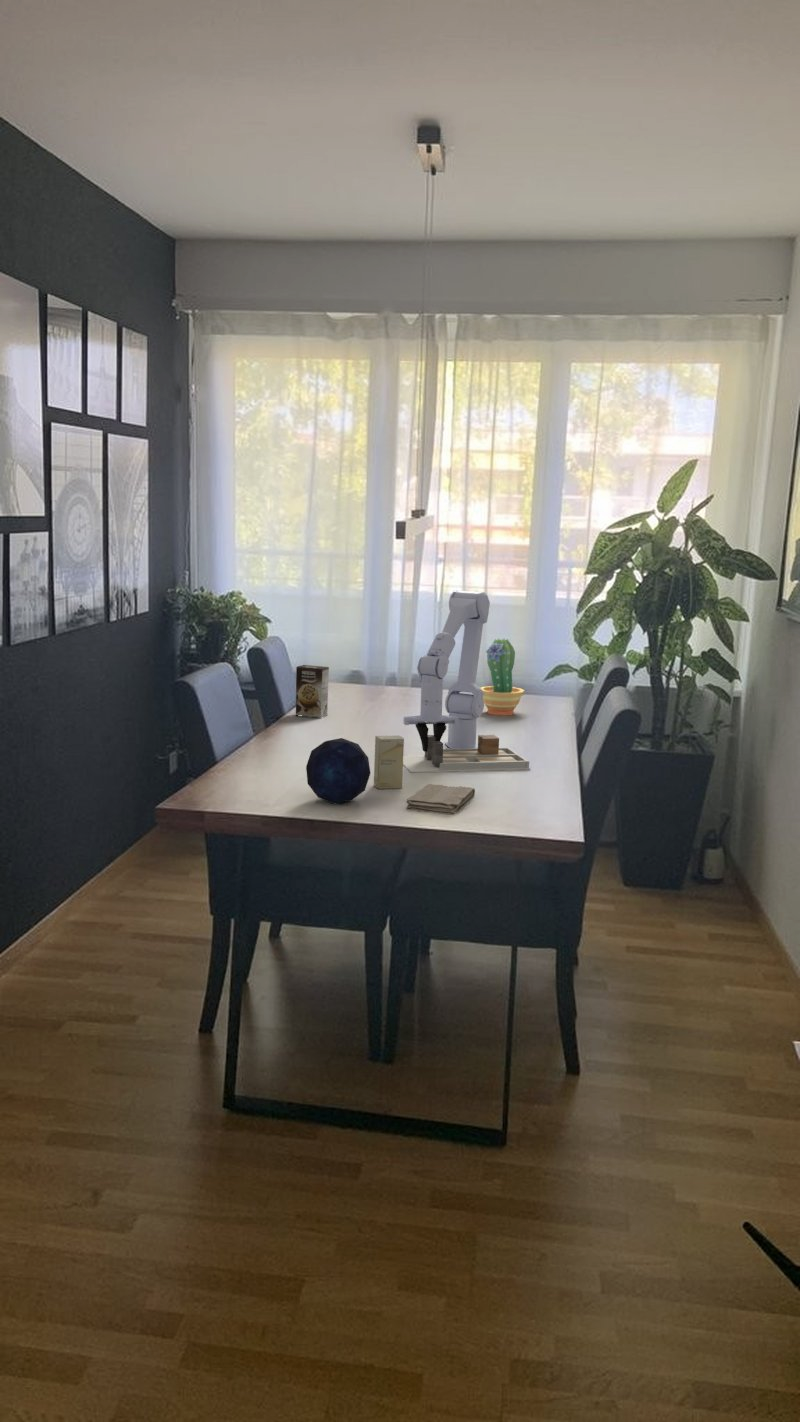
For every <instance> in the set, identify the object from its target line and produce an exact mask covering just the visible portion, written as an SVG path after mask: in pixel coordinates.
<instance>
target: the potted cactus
mask: <svg viewBox="0 0 800 1422" xmlns="http://www.w3.org/2000/svg"><path fill="white" fill-rule="evenodd" d="M485 653H486V657H487V661H486V662H487V665H488V667H489V671H490V674H491V675H490V676H491V681H492V684H493V685H489V686H481V687H480V688H481V689H482V690H483V692H484V696H483V700H484V706H485V707H486V709H487V711H486V713H488V714H489V715H493V716H512V715H514V714H515V712H514V710H515V709H516V708H517V706H518V705H519V704H520V701H521V698H522V696H524V695H525V690H524V689H522V688H520V687H514V686H513V668H514V665H515V657H516V650H515V649H514V647H513V645H512V644H511V641H509V639H505V638H503V639H500V638H497V639H494V640H493V642H492V643H491V644H490V646H488V649H486V651H485Z"/></svg>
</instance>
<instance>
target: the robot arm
mask: <svg viewBox="0 0 800 1422" xmlns="http://www.w3.org/2000/svg"><path fill="white" fill-rule="evenodd" d="M490 604H491V603H490V599H489V596H488V594H487V593H486V592H484V591H481V592H478V591H462V590H453V592H452V593H451V594H450V597H449V600H448V609H449V613H448V616H447V618H446V621H445V623H444V626H443V629H442V631H441V632H439V633H437V634H436V635H435V637H434V639H433V641H432V643H431V645H430V647H429V649H428V651H427V653H426V654H424V655H423V656H421V657H420V658H419V660H418V663H417V667H416V668H417V673H418V677H419V678H418V679H419V683H421V684H420V685H421V686H420V687H421V688H420V715H411V716H409V715H408V716H403V725H404V726H409V725H415V728H416V730H417V732H418V735H419V738H420V741H421V749H422V751H423V752H424V753H425V752H427V736H428V735H429V734H428V733H429V728H428V725H432V730H433V731H432V732H433V736H435V737H436V738H435V741H441V740H442V738H443V736H444V733H445V732H446V730H447V724H448V730H447V731H448V733H447V734H448V735H447V736H448V737H447V741H445V742H444V745H446V746H447V747H449V748H448V749H465V748H478V745H476V743H477V726H478V725H477V724H478V723H477V719H479V718H480V716H481V715H482V714H483V711H484V708H485V704H484V700H483V696H484V692H483V690H482V689H481V687H480V686H479V685H478V684H477V674H478V666H479V658H480V651H481V644H482V636H483V628H484V624H487V623H488V617H489V614H490V606H491V605H490ZM463 625H464V629H463V630H464V631H463V638H462V643H461V644H462V645H461V651H460V652H461V653H460V659H459V667H458V668H459V669H458V676H457V681H455V683H453V684H452V685H450V686H449V688H448V692H447V695H446V697H445V700H444V701H445V703H444V709H445V710H446V713H448V715H443V694H444V693H443V692H444V691H443V690H444V678H445V676H446V675H447V673H448V670H449V664H450V659H449V658H450V656H451V654H452V652H453V651H454V648H455V646H456V640H455V638H456V636H457V633H458V632H459V630H460V629H461V627H462V626H463ZM461 692H462V693H461ZM469 693H470V694H469Z"/></svg>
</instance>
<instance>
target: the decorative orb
mask: <svg viewBox="0 0 800 1422" xmlns="http://www.w3.org/2000/svg"><path fill="white" fill-rule="evenodd" d="M305 771H306V778H307V779H306V781H307V785H308V787H309V788H310V789H311V790H312V791H313V793H314V794H315V795H316V796H317V798H318V799H322V801H326V802H329V803H332V804H334V803H336V804H340V803H346V802H350V801H353V800H355V798H357V797H358V796H359V795H361V794H362V793H364V792H365V791H366V788H367V785H368V782H369V779H370V776H371V767H370V762H369V757H368V755H367V754H366V753H365V751H364V750H363V749H362V747H361V746H360V744H359V743H357V742H353V741H351V740H348V739H345V738H343V737H340V738H335V739H334V738H333V739H330V740H325V741H323V742H322V743H320V744H319V745H318V746H316V747H315V748H313V749H312V750H311V751H310V753H309V758H308V760H307V762H306V766H305Z"/></svg>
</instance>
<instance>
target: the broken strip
mask: <svg viewBox="0 0 800 1422" xmlns="http://www.w3.org/2000/svg"><path fill="white" fill-rule="evenodd" d="M443 749H444V742H442V741H441V740H440V741H433V752H432V764H433V765H434V766H440V763H457V762H469V761H468V760H467V759H465V758H443ZM475 761H476V762H496V761H517V760H515V759H514V758H513V757H480V758H475Z"/></svg>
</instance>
